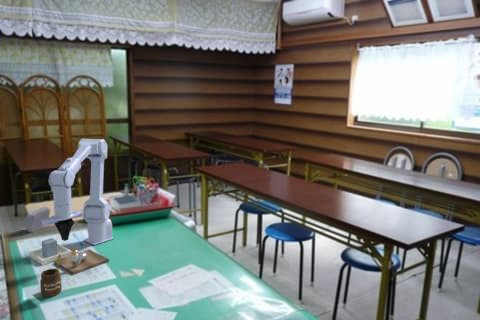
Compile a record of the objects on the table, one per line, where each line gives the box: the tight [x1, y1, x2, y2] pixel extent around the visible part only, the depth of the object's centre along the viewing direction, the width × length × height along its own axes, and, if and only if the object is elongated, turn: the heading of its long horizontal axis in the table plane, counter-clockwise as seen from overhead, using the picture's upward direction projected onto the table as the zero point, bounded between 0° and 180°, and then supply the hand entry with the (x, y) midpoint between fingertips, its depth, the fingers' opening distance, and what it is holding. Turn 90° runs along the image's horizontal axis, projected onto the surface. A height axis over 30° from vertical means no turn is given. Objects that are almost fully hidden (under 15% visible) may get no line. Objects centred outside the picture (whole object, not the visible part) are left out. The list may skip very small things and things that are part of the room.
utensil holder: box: [38, 254, 62, 298], centre depth 117 cm, size 6×6×12 cm
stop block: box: [41, 237, 58, 258], centre depth 144 cm, size 4×4×6 cm
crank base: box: [53, 249, 110, 275], centre depth 140 cm, size 14×14×1 cm
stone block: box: [25, 206, 51, 233], centre depth 171 cm, size 12×5×10 cm, turn 168°
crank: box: [71, 249, 87, 266], centre depth 137 cm, size 8×4×6 cm, turn 1°
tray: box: [28, 243, 72, 266], centre depth 144 cm, size 11×11×2 cm
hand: (64, 239), depth 134 cm, fingers closed
